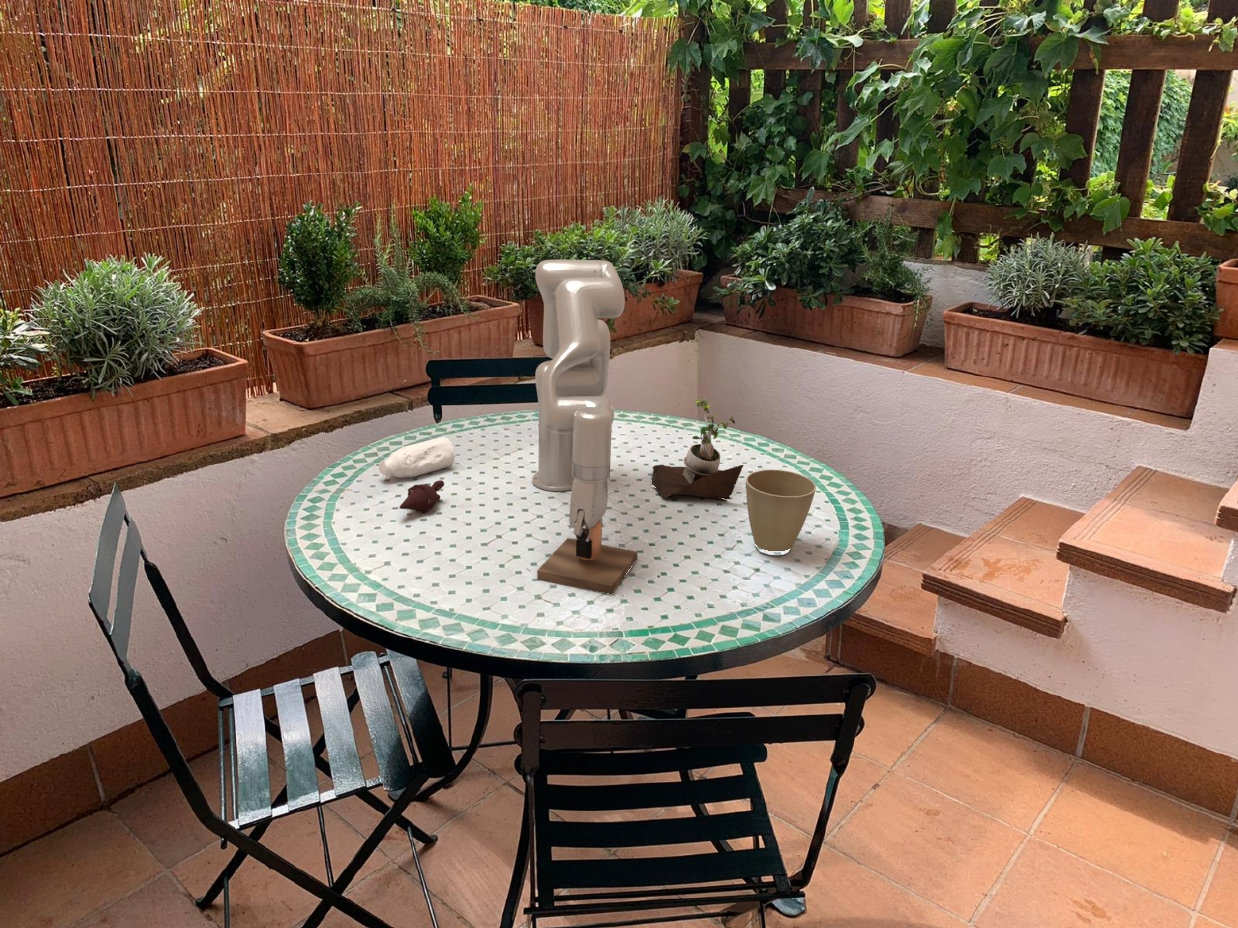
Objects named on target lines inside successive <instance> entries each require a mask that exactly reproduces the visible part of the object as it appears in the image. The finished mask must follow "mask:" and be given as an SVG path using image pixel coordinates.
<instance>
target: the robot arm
mask: <svg viewBox="0 0 1238 928" xmlns="http://www.w3.org/2000/svg"><path fill="white" fill-rule="evenodd" d="M616 270H617V269H616V268H615V266H614V265H613V264H612V262H610V261H608V260H599V259H544V260H542V261H540V262H539V263H538V264H537V266H536V268H535V281H536V285H537V288H538V291H539V293H540V295H541V299H542V301H543V323H542V324H543V327H542V329H543V330H542V347H543V351H544V353H545V355H546V356H547V357H548V358H550V359H551V360H546V361H543V362H542V363H540V364H538V366H537V367H536V370H535V373H534V374H535V377H534V378H535V380H534V381H535V387H536V393H537V401H538V403H537V405H538V471H537V472H535V473H534V474H533V475H532V478H531V479H532V481H531V482H532V484H533V485H534V486H535V487H537V488H539V489H541V490H544V491H551V492H566V491H571V493H570V504H569V514H568V515H569V516H568V517H569V519H568V521H569V523H568V524H569V525H570V526H571V527H573V526H574V529H573V535H575V540H576V556H578V557H582V558H587V559H590V558H591V557H592V540H590V538H591V530H592V527H594V526H595V525H596V524H597V522H598V521H600V522H601V523H602V527H603V525H604V524H603V517H604V516H605V514H606V512H607V509H608V496H609V495H608V493H609V492H608V491H609V490H608V488H609V487H608V484H609V483H608V480H609V479H610V478H611V457H612V456H611V455H612V431H613V430H612V429H613V428H612V427H613V422H614V419H615V418H614V417H615V410H614V405H613V404H612V403H611V401H610V399H608V398H607V397H606V396H604V395H605V394H606V391H607V388H608V387H607V386H608V379H609V367H610V357H611V355H610V353H611V333H610V330H609V326H608V325H607V323H606V322H605V321H604V320H602V319H615V318H619V317H620V316H621V315H622V314H623V312H624V310H625V305H626V303H625V302H626V301H625V299H626V298H625V297H626V296H625V292H624V287H623V283H622V281H621V278H620V276H619V274H618V272H617V271H616ZM584 523H586V524H588V525H583V524H584ZM582 529H587V534H586V533H585V532H583V531H582ZM602 539H603V534H602V535H601V545H603V544H602V541H603V540H602Z"/></svg>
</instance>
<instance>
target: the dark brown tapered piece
mask: <svg viewBox="0 0 1238 928" xmlns="http://www.w3.org/2000/svg"><path fill="white" fill-rule="evenodd" d="M444 486H445V482H444V481H443V480H442V479H440V480H436V481H434V482H433V484H432V485H429V484H427V483H421V484H414V485H413V486H411V487H409V488H408V489H407V497H406V498H405V499H404V501H402V503H401V504H400V505H399V510H400V509H401V510H414V511H415V512H416V513H419V512H420V513H421V514H427V513H429V512H430V511H431V510H432V509H434V508H435V506H436V505H437V503H438V502H439V501H440V499H441V496H440V494H438V493H437V492H439V491H440V490H441V489H442V488H444Z"/></svg>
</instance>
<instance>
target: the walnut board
mask: <svg viewBox="0 0 1238 928" xmlns="http://www.w3.org/2000/svg"><path fill="white" fill-rule="evenodd" d="M636 560H637V561H638V551H637V550H632V549H631V550H630V549H626V548H621V547H617V546H611V545H605V544H602V545H601V556H600V557H599V558H598V559H595V560H584V559H581V558H579V557H578V556H576V538H570V537H569V538H568V537H566V539H565V540H564V541H563V542H562V543H561V544H560V545H559V546H558V547H557V549H555V551H554V552H553V553H552V554H551V555H550V556H549V557H548V558H547V559H546V561H544V563H542V565H541V566H540V567H539V568H538V569H537V572H536V577H537V578H536V579H537V580H539V581H545V582H550V583H554V584H557V585H563V586H567V587H573V588H578V589H581V590H586V591H591V590H592V592H596V591H598V592H597V593H600V592H604V593H603V594H605V593H609V594H608V595H610V594H612V593H613V594H614V592H615V591H616V590H617V588H618V587H619V586H620V584H621V583H622V581H623V580H624V579H625V577H626V576H627V575H626V573H627V572H628V570H629V569H630V568H631V566H632V565H633V563H634V562H635V561H636ZM637 561H636V562H637ZM636 562H635V563H636ZM633 566H634V565H633ZM633 566H632V567H633ZM631 569H632V568H631ZM631 569H630V570H631ZM630 570H629V571H630ZM628 573H629V572H628ZM628 573H627V574H628ZM625 575H626V576H625ZM624 576H625V577H624ZM623 578H624V579H623ZM622 579H623V580H622ZM621 580H622V581H621ZM620 582H621V583H620ZM619 583H620V584H619ZM617 586H618V587H617ZM615 589H616V590H615ZM614 590H615V591H614ZM613 591H614V592H613ZM613 594H612V595H613Z"/></svg>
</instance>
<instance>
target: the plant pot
mask: <svg viewBox="0 0 1238 928" xmlns="http://www.w3.org/2000/svg"><path fill="white" fill-rule="evenodd" d="M816 490H817V485H816V483H815V482H814V481H813V480H812V479H810V478H809V477H807V476H805V475H803V474H800V473H796V472H793V471H789V470H782V469H761V470H757V471H754V472H751V473H749V474H748V475H746V477H745V493H746V505H747V506H746V507H747V513H748V520H749V525H750V531H751V535H752V539H753V543H754V545H755V544H756V545H757V546H758V547H759V548H761V549H764V550H768V551H785V550H788V549H790V548H791V547H792V548H793V546H794V544H795V542H796V541H797V539H798V537H799V535H800V534H801V531H802V528H803V526H804V524H805V523H806V520H807V517H808V514H809V511H810V509H811V506H812V503H813V500H814V497H815V493H816ZM792 548H791V549H792Z"/></svg>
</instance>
